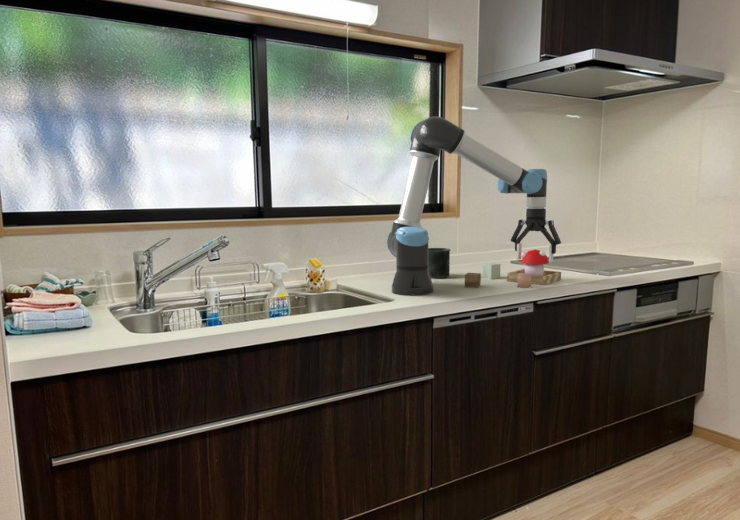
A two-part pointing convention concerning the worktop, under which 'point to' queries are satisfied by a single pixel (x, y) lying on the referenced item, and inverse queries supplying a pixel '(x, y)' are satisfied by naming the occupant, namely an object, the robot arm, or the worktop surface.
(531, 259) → the mushroom
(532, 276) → the bamboo tray
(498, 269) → the sage block
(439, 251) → the mug
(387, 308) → the worktop surface
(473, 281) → the walnut block
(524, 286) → the peach rounded block
